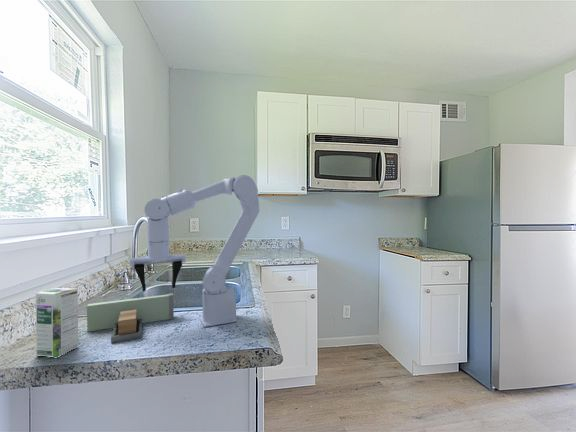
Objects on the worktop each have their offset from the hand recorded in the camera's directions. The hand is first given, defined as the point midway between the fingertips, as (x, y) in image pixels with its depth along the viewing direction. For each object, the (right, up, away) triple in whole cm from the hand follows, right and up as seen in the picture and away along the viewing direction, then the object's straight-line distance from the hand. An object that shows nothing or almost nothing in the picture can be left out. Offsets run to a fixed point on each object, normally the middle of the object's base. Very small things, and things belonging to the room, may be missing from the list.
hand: (159, 288), depth 84 cm
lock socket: (-6, -11, -5) cm, 13 cm away
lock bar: (-6, -11, -5) cm, 13 cm away
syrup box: (-17, -11, -16) cm, 25 cm away
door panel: (-8, -11, +2) cm, 13 cm away
